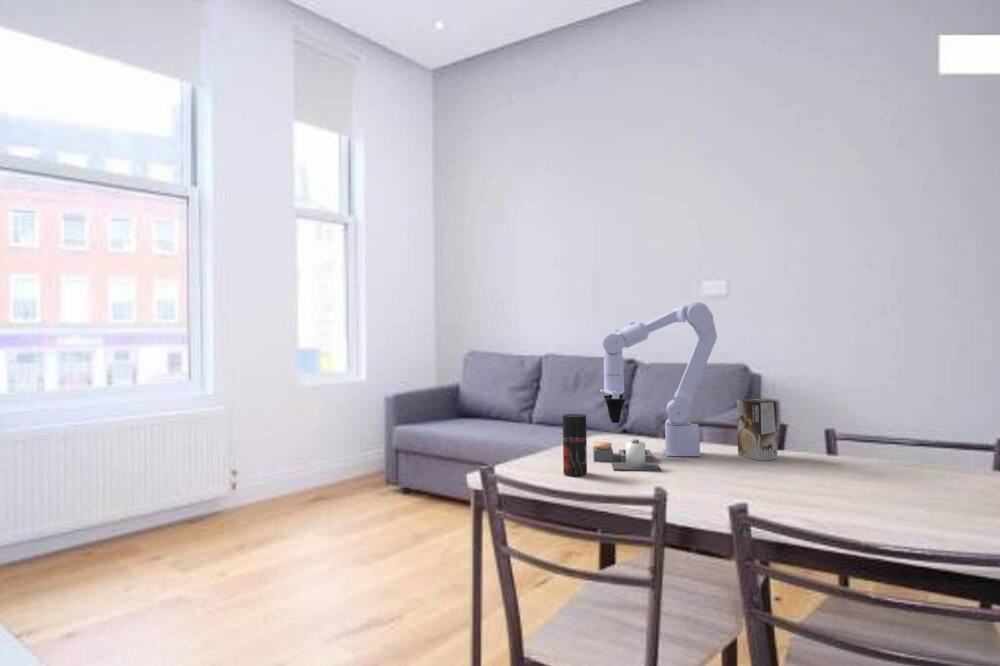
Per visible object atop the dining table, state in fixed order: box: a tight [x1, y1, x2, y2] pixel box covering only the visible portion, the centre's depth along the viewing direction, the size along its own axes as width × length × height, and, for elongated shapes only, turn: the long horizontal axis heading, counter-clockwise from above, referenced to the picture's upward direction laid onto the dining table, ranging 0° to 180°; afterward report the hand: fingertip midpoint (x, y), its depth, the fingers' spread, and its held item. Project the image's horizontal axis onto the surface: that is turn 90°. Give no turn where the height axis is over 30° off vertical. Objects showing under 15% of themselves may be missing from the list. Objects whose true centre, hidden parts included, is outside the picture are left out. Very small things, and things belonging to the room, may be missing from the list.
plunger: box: [593, 441, 613, 450], centre depth 185 cm, size 5×5×4 cm
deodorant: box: [562, 413, 588, 478], centre depth 168 cm, size 6×6×15 cm
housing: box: [592, 446, 654, 463], centre depth 185 cm, size 16×9×3 cm, turn 84°
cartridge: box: [625, 438, 646, 468], centre depth 174 cm, size 5×5×7 cm
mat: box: [611, 461, 662, 472], centre depth 174 cm, size 12×8×1 cm, turn 84°
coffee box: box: [736, 397, 779, 462], centre depth 185 cm, size 9×6×16 cm
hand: (614, 420), depth 195 cm, fingers open, 7 cm apart
